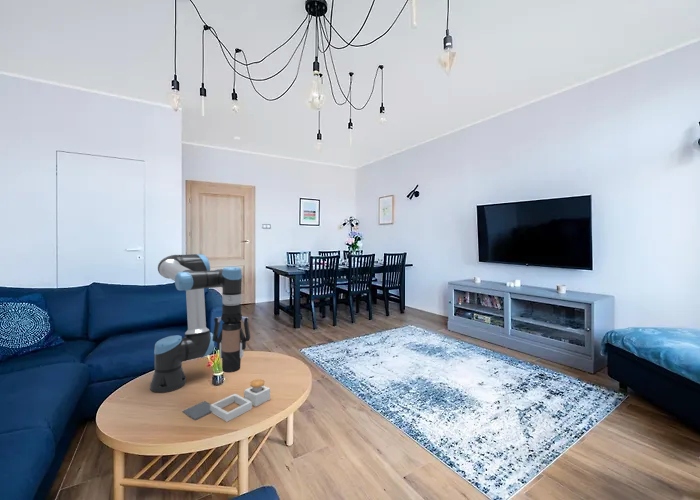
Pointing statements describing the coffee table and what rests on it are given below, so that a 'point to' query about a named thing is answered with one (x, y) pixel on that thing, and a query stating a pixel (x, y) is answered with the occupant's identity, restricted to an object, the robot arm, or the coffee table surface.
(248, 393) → the housing
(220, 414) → the socket collar
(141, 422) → the coffee table surface
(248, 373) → the coffee table surface
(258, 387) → the tan and grey knob
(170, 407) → the coffee table surface
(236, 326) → the travel mug
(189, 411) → the mat
